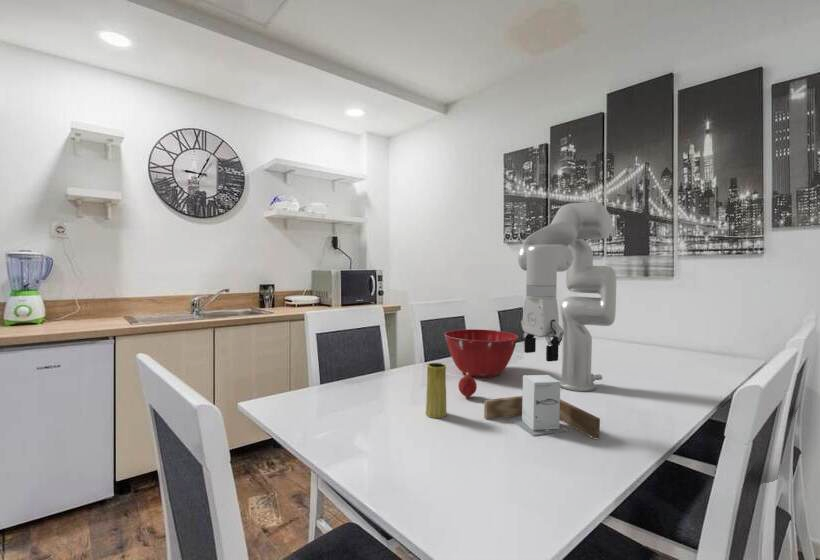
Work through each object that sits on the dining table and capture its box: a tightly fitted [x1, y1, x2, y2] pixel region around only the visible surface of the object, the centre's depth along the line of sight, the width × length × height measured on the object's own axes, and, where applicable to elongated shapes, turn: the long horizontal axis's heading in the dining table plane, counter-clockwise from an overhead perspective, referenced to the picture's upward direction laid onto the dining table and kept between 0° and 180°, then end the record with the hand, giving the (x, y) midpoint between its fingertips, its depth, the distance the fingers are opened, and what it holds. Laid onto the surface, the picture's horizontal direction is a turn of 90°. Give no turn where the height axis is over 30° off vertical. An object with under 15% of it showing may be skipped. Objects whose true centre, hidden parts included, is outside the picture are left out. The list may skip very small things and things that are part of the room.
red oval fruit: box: [458, 373, 477, 399], centre depth 133 cm, size 6×6×8 cm
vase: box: [425, 362, 448, 419], centre depth 118 cm, size 6×6×14 cm
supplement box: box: [521, 374, 561, 431], centre depth 109 cm, size 7×7×13 cm
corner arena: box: [483, 395, 601, 439], centre depth 109 cm, size 21×21×5 cm
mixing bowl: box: [444, 328, 519, 378], centre depth 163 cm, size 28×28×16 cm
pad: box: [511, 418, 568, 437], centre depth 110 cm, size 10×10×1 cm
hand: (540, 356), depth 109 cm, fingers open, 9 cm apart
